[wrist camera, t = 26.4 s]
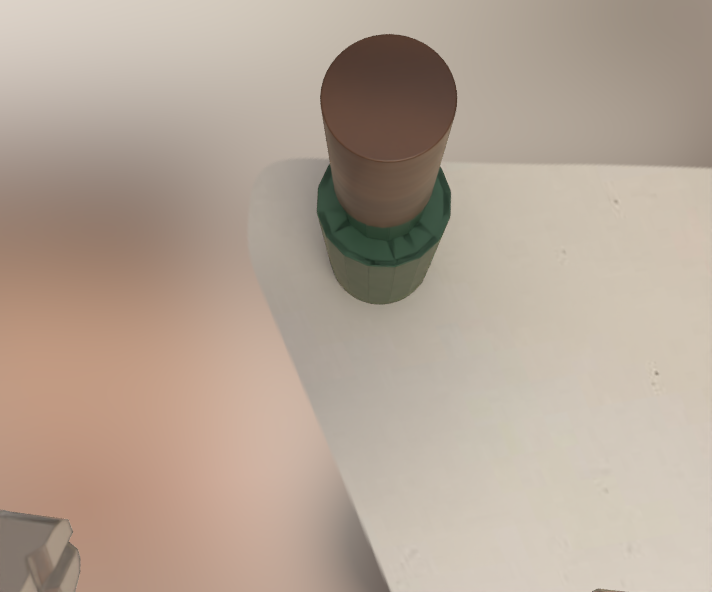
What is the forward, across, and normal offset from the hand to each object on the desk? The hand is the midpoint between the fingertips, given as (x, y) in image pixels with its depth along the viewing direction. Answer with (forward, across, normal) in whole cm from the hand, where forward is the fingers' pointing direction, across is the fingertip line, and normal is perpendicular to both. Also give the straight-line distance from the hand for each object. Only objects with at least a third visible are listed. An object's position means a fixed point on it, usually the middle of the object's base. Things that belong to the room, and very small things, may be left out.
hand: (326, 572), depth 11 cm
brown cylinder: (+21, 0, +4) cm, 21 cm away
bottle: (+32, 0, +14) cm, 35 cm away
